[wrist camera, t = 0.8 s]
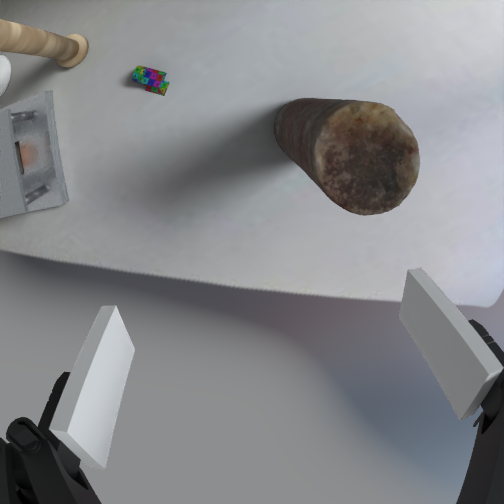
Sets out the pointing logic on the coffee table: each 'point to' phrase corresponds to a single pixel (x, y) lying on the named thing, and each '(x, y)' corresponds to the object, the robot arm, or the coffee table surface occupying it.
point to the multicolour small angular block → (151, 79)
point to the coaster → (4, 73)
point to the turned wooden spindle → (42, 43)
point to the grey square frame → (30, 157)
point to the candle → (351, 151)
